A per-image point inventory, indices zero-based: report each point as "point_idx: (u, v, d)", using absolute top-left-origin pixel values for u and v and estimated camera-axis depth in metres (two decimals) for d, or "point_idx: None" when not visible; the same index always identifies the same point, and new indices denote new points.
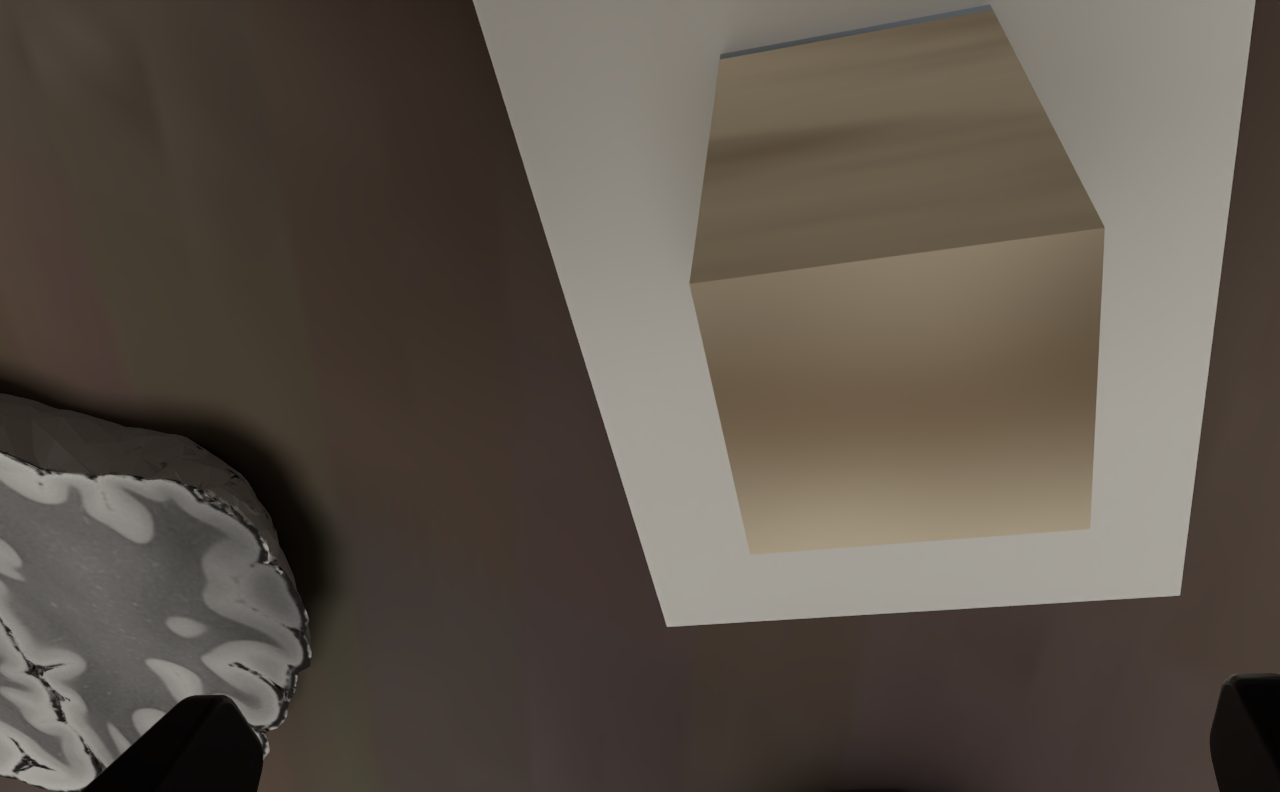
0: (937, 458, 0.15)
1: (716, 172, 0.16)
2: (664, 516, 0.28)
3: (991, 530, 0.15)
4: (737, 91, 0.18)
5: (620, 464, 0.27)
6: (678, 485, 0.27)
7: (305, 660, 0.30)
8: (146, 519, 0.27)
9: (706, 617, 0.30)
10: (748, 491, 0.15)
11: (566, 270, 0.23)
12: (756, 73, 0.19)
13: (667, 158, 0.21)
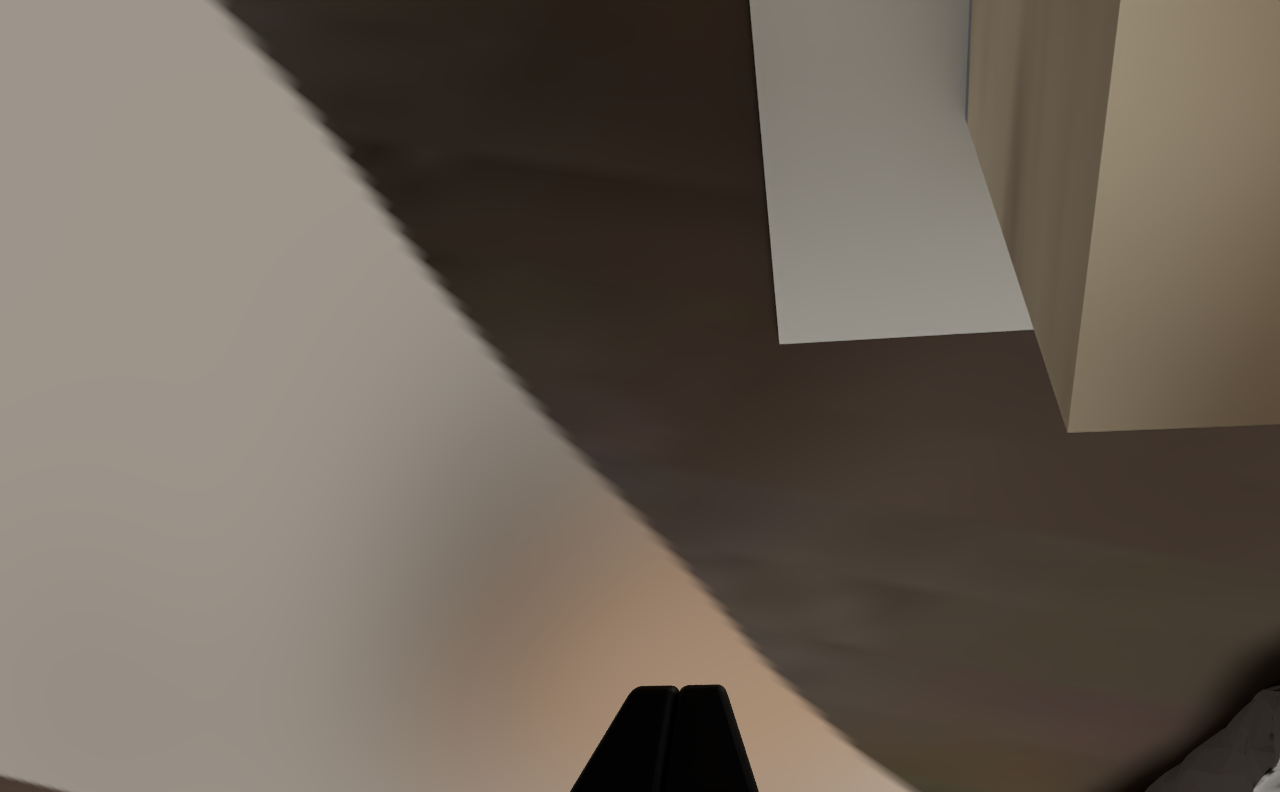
0: None
1: (1017, 265, 0.13)
2: None
3: None
4: (983, 147, 0.16)
5: None
6: None
7: None
8: None
9: None
10: None
11: None
12: (978, 109, 0.16)
13: None
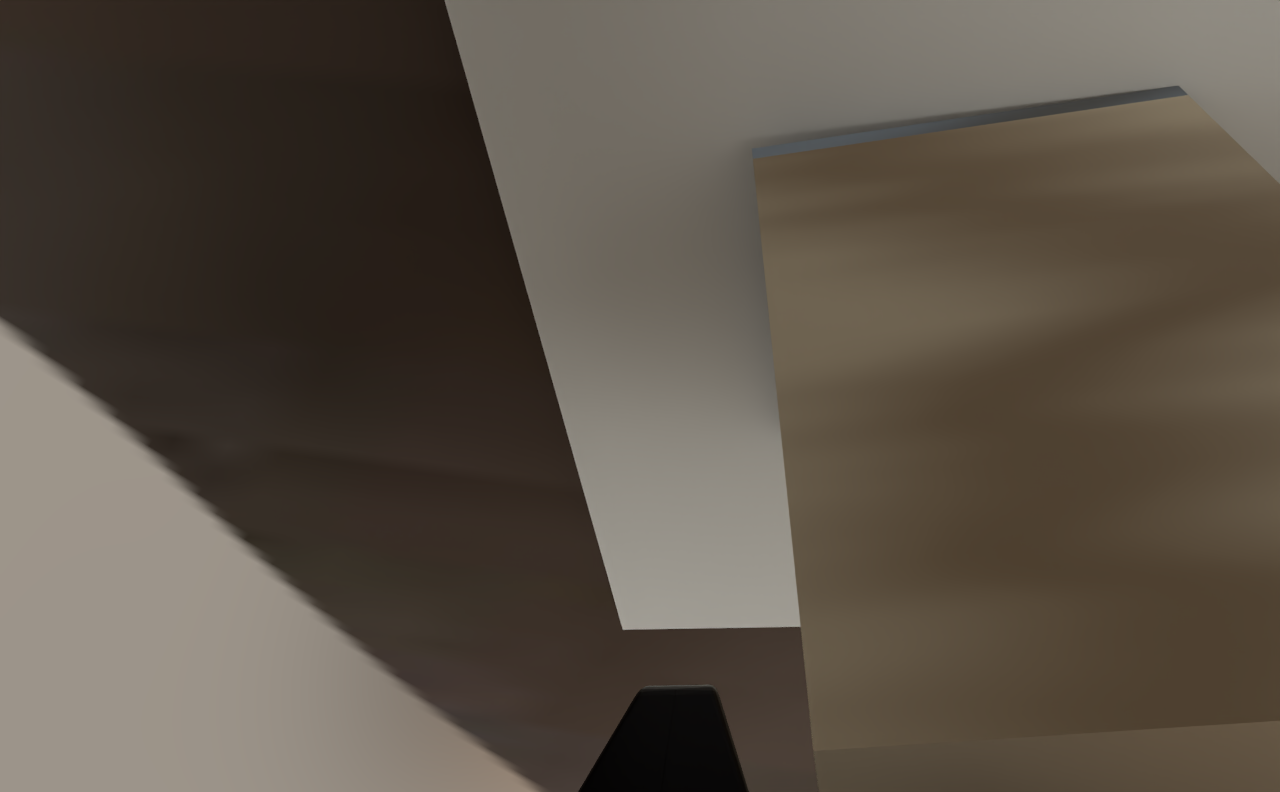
0: None
1: None
2: None
3: None
4: None
5: None
6: None
7: None
8: None
9: None
10: None
11: None
12: None
13: None
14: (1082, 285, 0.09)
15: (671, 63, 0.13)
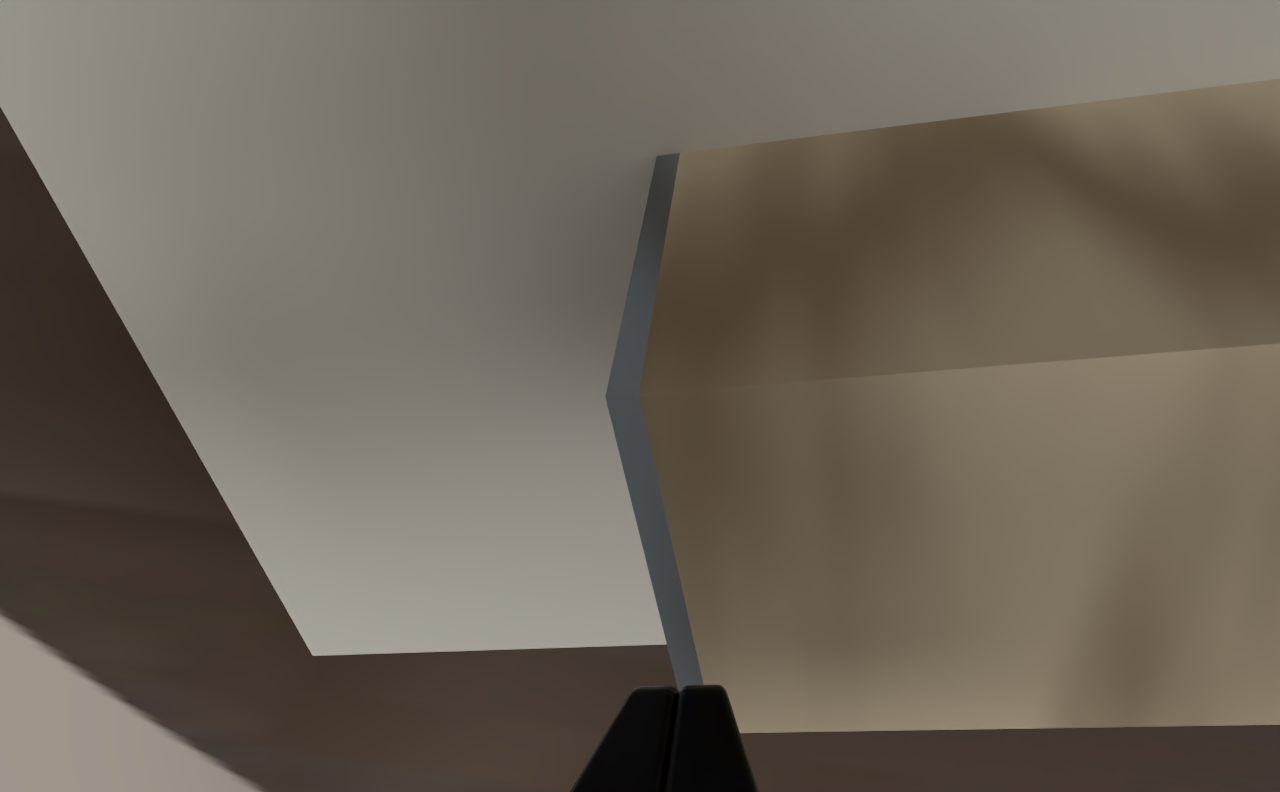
0: None
1: (1180, 715, 0.11)
2: None
3: None
4: (871, 708, 0.11)
5: None
6: None
7: None
8: None
9: None
10: None
11: None
12: (803, 692, 0.11)
13: (543, 531, 0.17)
14: (1016, 200, 0.11)
15: (204, 135, 0.14)
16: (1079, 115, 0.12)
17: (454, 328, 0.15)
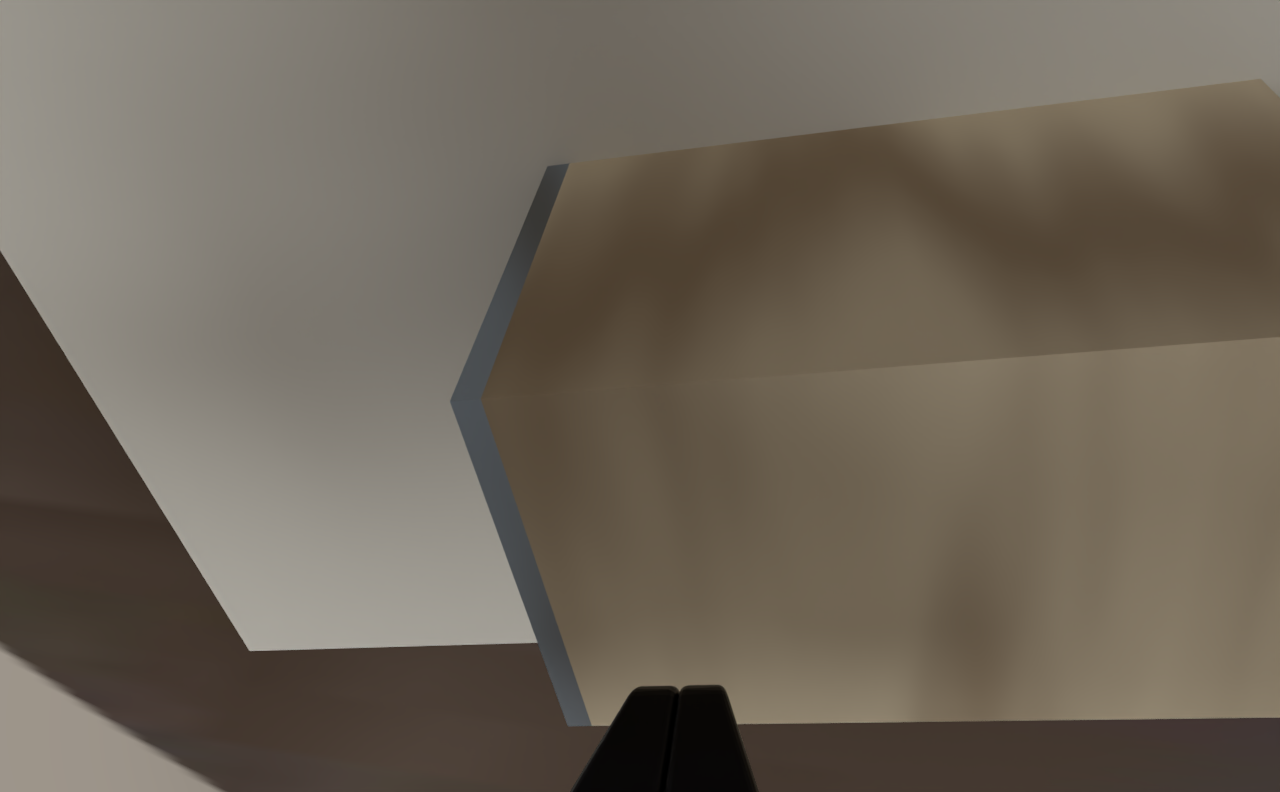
0: None
1: (1029, 710, 0.11)
2: None
3: None
4: (737, 702, 0.12)
5: None
6: None
7: None
8: None
9: None
10: None
11: None
12: None
13: (464, 529, 0.18)
14: (868, 212, 0.11)
15: (114, 145, 0.14)
16: (945, 128, 0.12)
17: (365, 332, 0.15)
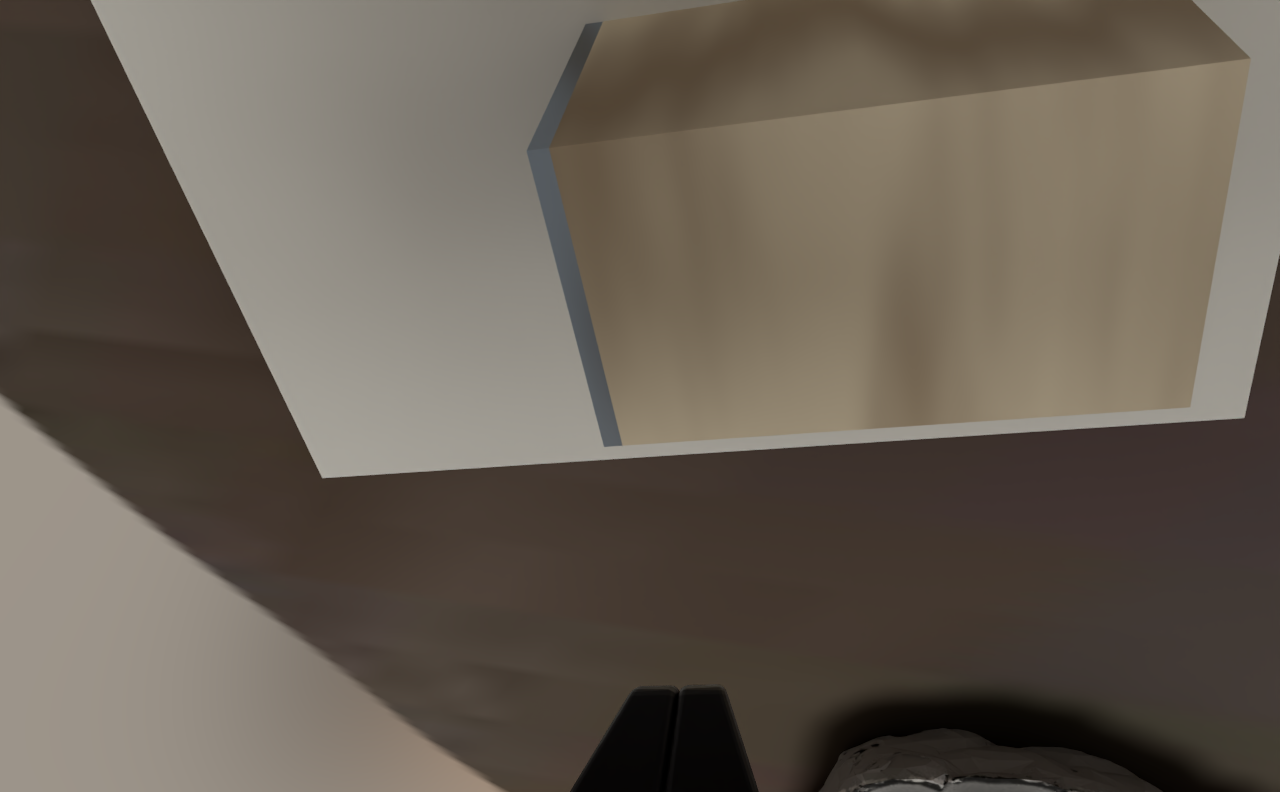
0: None
1: (954, 413, 0.15)
2: None
3: None
4: (734, 417, 0.15)
5: (912, 435, 0.22)
6: None
7: None
8: None
9: (1238, 368, 0.20)
10: None
11: (639, 449, 0.23)
12: (684, 404, 0.15)
13: (509, 354, 0.22)
14: (831, 33, 0.15)
15: (242, 12, 0.18)
16: None
17: (435, 173, 0.19)
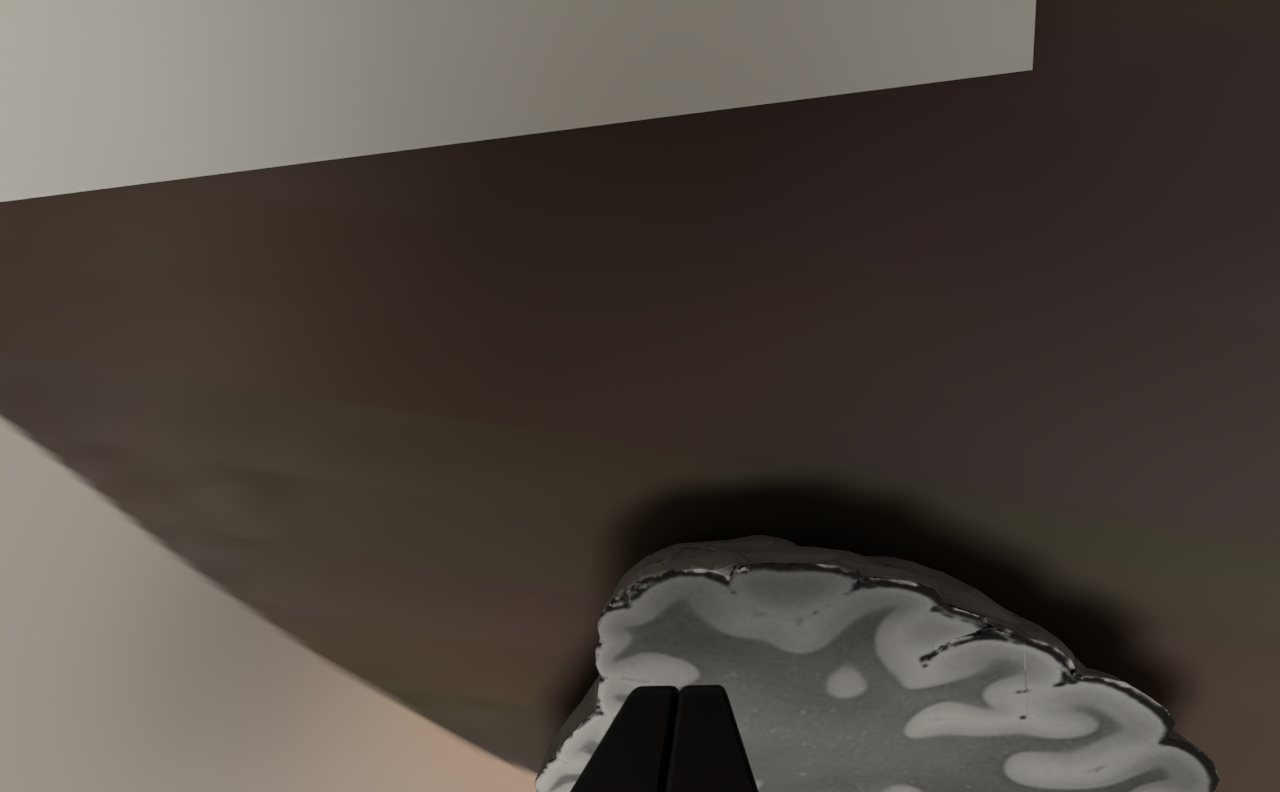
0: None
1: None
2: (755, 55, 0.17)
3: None
4: None
5: (649, 113, 0.18)
6: (688, 29, 0.17)
7: (922, 591, 0.21)
8: (660, 658, 0.24)
9: None
10: None
11: (338, 147, 0.19)
12: None
13: (162, 12, 0.18)
14: None
15: None
16: None
17: None
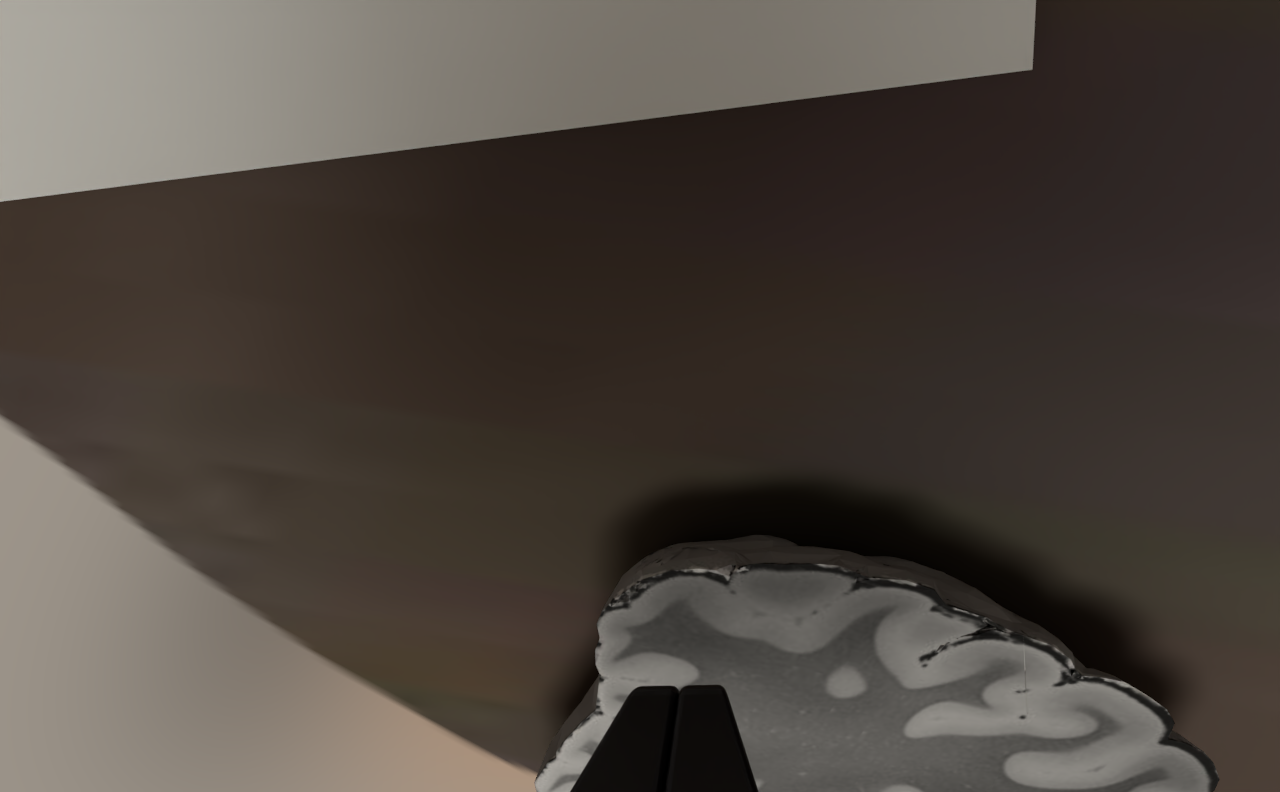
0: None
1: None
2: (755, 55, 0.17)
3: None
4: None
5: (649, 113, 0.18)
6: (688, 28, 0.17)
7: (921, 591, 0.21)
8: (660, 658, 0.24)
9: None
10: None
11: (338, 146, 0.19)
12: None
13: (162, 11, 0.18)
14: None
15: None
16: None
17: None
